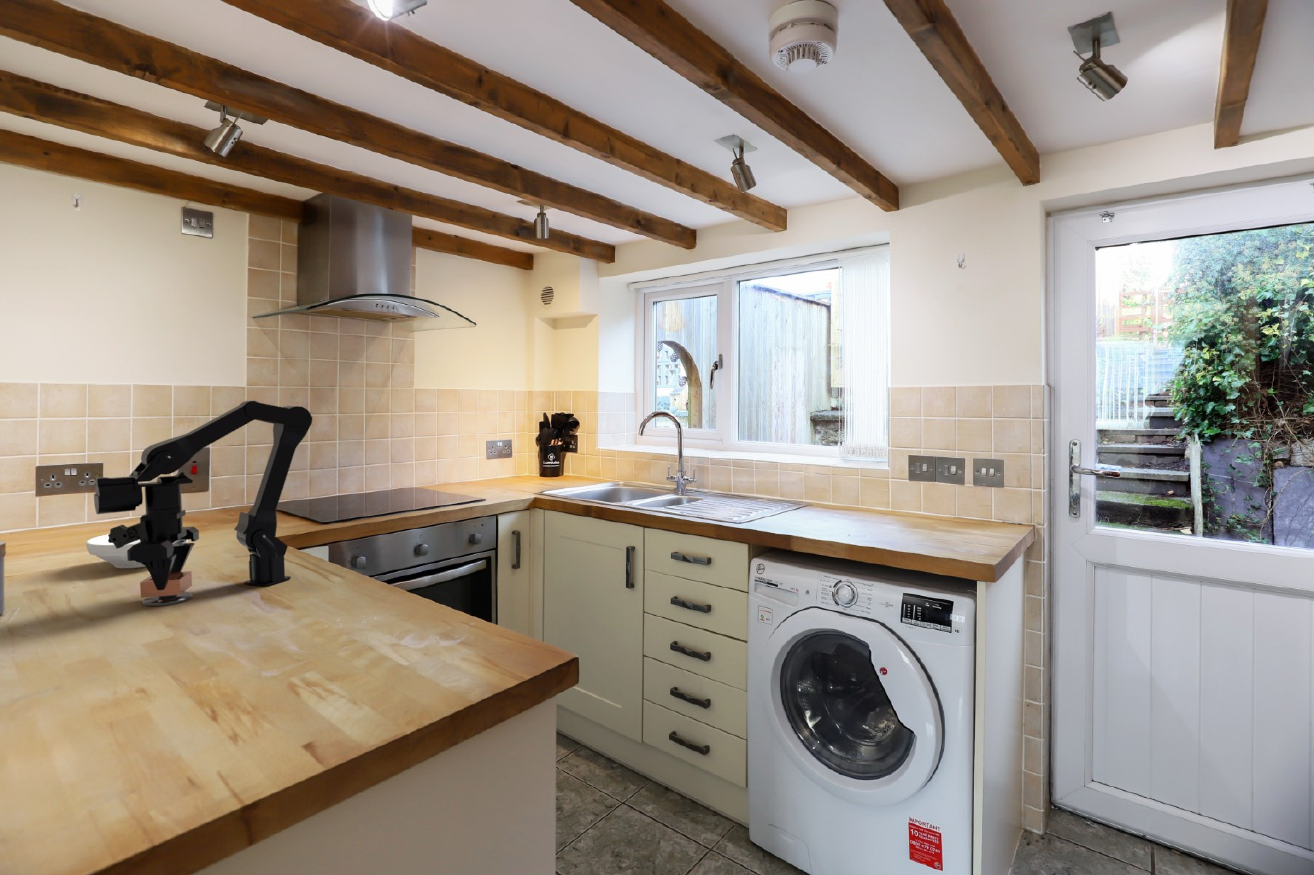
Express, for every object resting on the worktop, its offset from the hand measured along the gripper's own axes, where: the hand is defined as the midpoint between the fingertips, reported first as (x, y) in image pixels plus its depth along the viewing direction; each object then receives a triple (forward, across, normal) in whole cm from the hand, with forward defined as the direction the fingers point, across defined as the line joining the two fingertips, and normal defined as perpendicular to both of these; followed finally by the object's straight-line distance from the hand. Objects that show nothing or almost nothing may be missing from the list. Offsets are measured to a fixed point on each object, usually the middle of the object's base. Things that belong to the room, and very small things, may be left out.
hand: (167, 585), depth 131 cm
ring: (+1, 0, 0) cm, 1 cm away
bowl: (+3, -35, -17) cm, 39 cm away
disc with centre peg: (+3, 0, 0) cm, 3 cm away
